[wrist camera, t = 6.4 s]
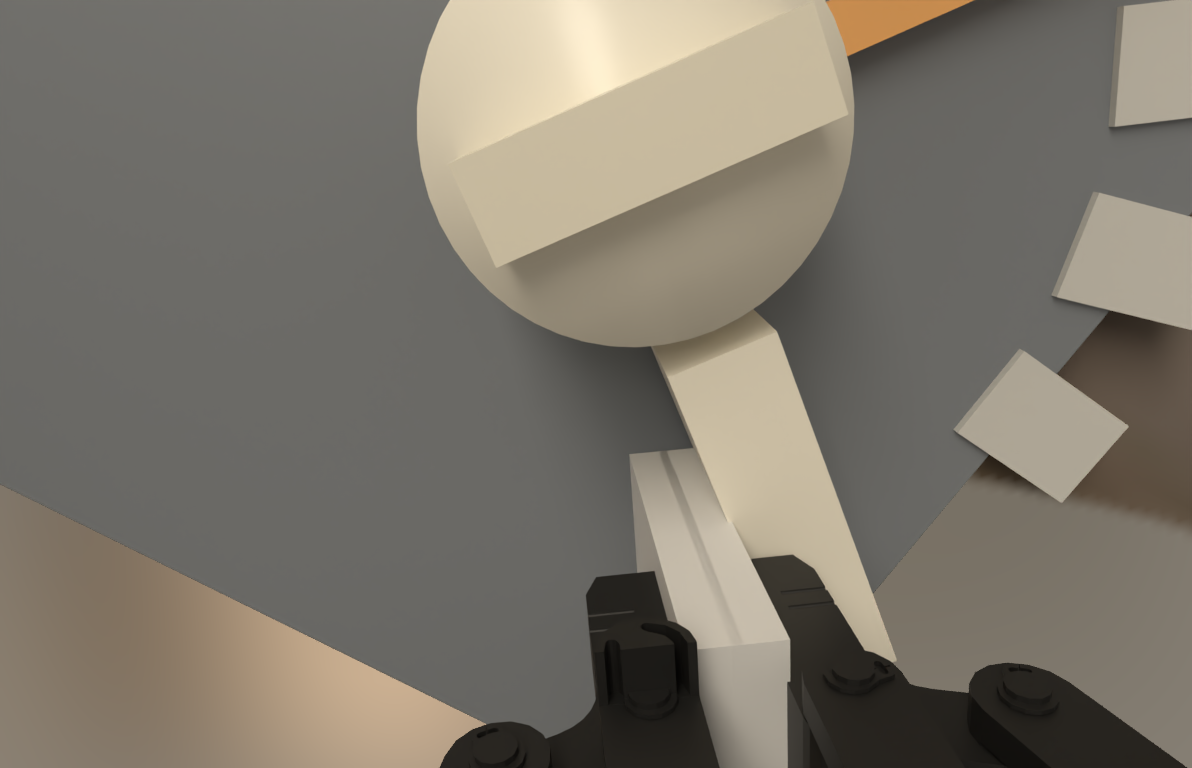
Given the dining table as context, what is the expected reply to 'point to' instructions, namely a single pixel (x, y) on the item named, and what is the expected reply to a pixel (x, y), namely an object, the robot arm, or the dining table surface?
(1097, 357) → the dining table surface
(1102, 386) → the dining table surface
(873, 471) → the tuner board
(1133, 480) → the dining table surface
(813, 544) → the dial
